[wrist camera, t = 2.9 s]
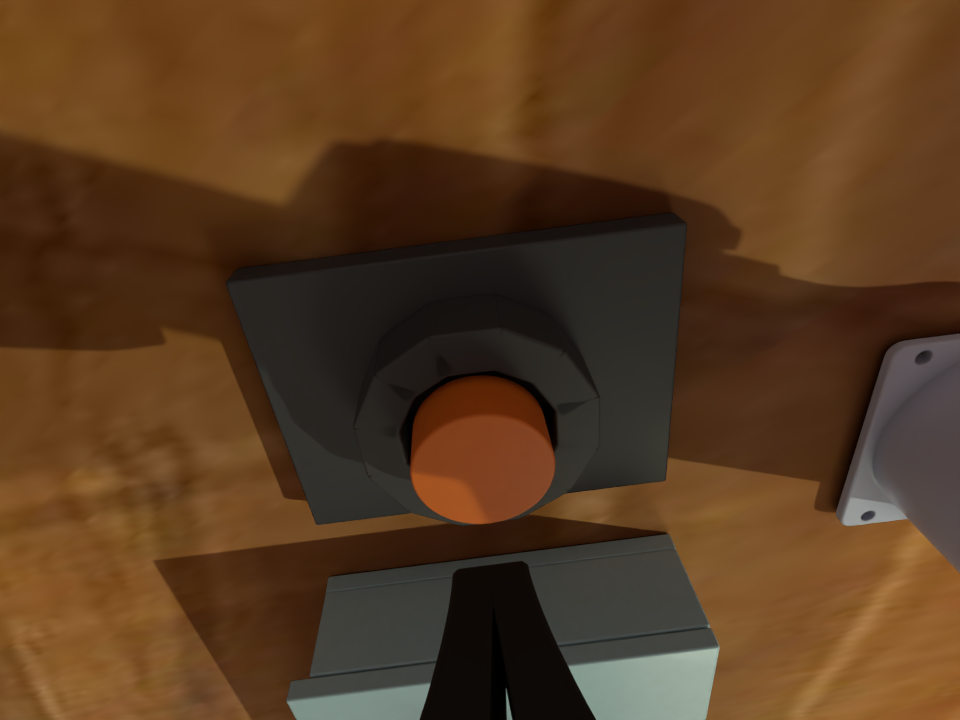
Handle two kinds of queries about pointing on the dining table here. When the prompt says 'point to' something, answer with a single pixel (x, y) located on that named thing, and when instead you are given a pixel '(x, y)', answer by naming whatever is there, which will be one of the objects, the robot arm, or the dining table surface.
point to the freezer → (558, 584)
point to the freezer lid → (595, 667)
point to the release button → (481, 450)
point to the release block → (470, 353)
